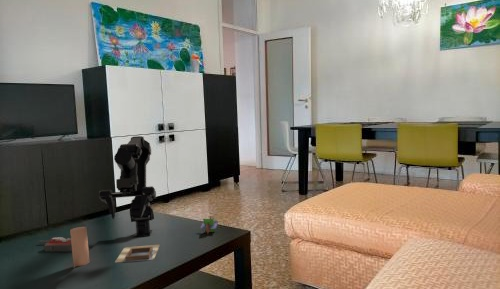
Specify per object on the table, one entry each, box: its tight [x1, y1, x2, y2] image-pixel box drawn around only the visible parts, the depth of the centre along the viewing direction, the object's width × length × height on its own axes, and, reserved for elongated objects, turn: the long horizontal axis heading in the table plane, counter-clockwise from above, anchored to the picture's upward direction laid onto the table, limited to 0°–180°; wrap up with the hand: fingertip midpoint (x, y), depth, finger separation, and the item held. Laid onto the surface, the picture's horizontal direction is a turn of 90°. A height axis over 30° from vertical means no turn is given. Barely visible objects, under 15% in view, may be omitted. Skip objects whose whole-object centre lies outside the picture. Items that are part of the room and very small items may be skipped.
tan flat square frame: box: [114, 244, 161, 263], centre depth 133 cm, size 15×13×1 cm
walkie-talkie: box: [38, 236, 72, 252], centre depth 147 cm, size 9×4×20 cm
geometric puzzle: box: [199, 216, 219, 235], centre depth 155 cm, size 7×7×8 cm
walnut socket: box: [125, 247, 153, 261], centre depth 131 cm, size 8×8×2 cm
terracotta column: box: [69, 226, 90, 269], centre depth 126 cm, size 5×5×13 cm
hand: (127, 218), depth 128 cm, fingers open, 9 cm apart
